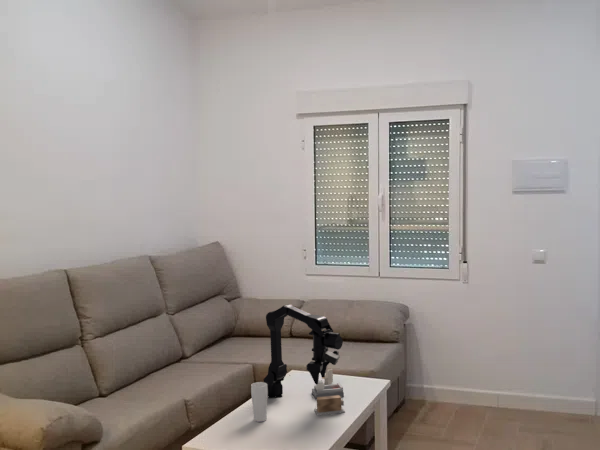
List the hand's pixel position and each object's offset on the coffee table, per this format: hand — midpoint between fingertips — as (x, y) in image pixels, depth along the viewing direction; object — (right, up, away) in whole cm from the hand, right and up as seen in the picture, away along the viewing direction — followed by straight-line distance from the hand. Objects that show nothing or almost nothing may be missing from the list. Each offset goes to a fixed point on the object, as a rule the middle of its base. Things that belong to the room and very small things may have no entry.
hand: (319, 380), depth 267 cm
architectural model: (+5, -10, +32) cm, 34 cm away
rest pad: (+4, -12, -6) cm, 14 cm away
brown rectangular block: (+4, -11, -6) cm, 13 cm away
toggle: (+1, -8, +14) cm, 17 cm away
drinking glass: (-25, -13, -13) cm, 31 cm away
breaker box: (+4, -10, +15) cm, 19 cm away
